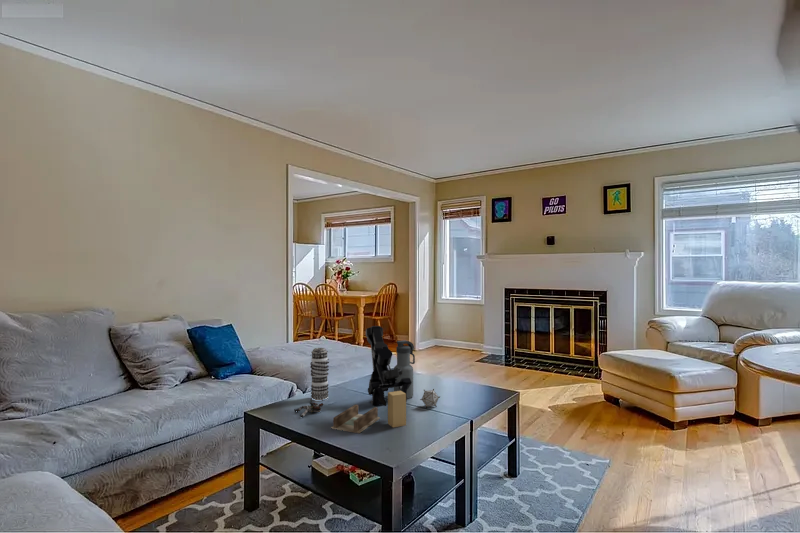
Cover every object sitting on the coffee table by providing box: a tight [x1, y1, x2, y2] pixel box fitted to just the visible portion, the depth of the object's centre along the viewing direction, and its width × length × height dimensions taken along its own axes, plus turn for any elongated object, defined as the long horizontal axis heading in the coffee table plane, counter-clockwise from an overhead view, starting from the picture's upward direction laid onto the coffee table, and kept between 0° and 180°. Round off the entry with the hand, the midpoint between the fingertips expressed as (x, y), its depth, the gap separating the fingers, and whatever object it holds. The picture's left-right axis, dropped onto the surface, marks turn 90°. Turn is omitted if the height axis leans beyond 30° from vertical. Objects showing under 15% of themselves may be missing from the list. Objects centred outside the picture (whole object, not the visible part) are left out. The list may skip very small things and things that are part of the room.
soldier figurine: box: [294, 398, 324, 418], centre depth 192 cm, size 8×11×12 cm
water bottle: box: [393, 339, 416, 400], centre depth 218 cm, size 10×10×28 cm
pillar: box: [387, 391, 407, 428], centre depth 179 cm, size 5×6×13 cm
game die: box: [419, 388, 441, 409], centre depth 201 cm, size 9×8×10 cm
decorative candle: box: [309, 347, 330, 400], centre depth 215 cm, size 9×9×25 cm
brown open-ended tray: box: [330, 404, 380, 434], centre depth 180 cm, size 18×13×5 cm
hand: (396, 403), depth 180 cm, fingers open, 9 cm apart
